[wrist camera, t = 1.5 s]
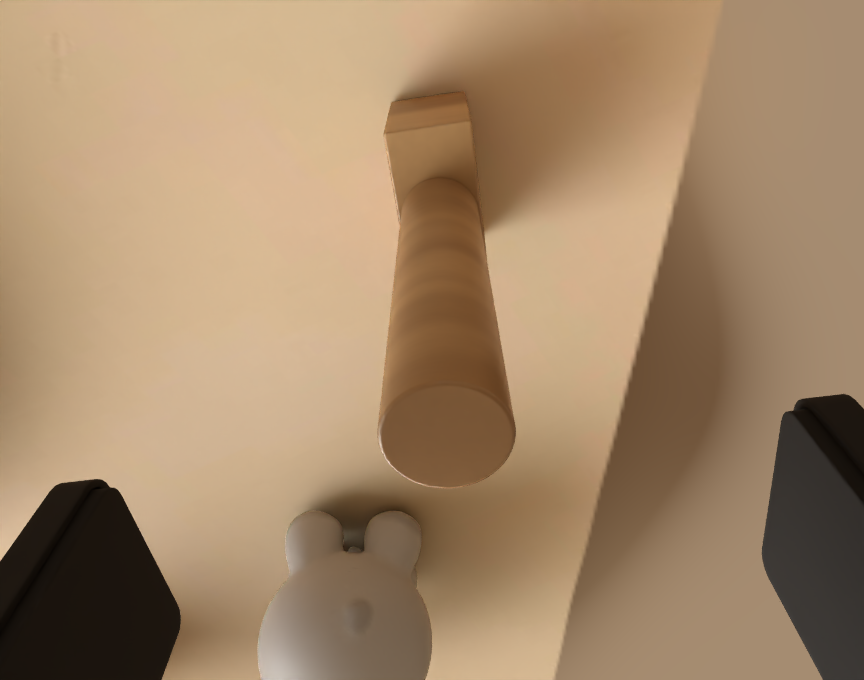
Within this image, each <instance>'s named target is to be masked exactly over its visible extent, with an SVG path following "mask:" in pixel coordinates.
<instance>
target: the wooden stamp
mask: <svg viewBox="0 0 864 680" xmlns="http://www.w3.org/2000/svg"><path fill="white" fill-rule="evenodd" d="M384 140H385V146H386V151H387V157H388V162H389V168H390V174H391V179H392V185H393V190H394V196H395V201H396V207H397V212H398V218H399V223H400V230H399V239H398V248H397V257H396V266H395V276H394V285H393V294H392V303H391V312H390V321H389V331H388V340H387V349H386V358H385V367H384V376H383V386H382V395H381V404H380V413H379V422H378V442H379V446H380V449H381V451H382V453H383V455H384V457H385V459H386V460H387V462H388V463H389V464H390V466H391V467H392V468H393V469H394V470H395V471H397V472H398V473H399V474H400V475H402V476H403V477H405V478H407V479H409V480H411V481H413V482H415V483H418V484H421V485H424V486H428V487H435V488H457V487H464V486H467V485H471V484H474V483H477V482H479V481H481V480H483V479H485V478H487V477H489V476H490V475H492V474H493V473H494V472H496V471H497V470H498V469H499V468H500V467H501V466H502V465H503V464H504V463H505V461H506V460H507V458H508V457H509V455H510V453H511V451H512V449H513V445H514V442H515V436H516V428H515V422H514V416H513V411H512V405H511V399H510V393H509V387H508V381H507V376H506V370H505V364H504V358H503V352H502V347H501V341H500V335H499V329H498V323H497V317H496V312H495V306H494V300H493V294H492V288H491V283H490V277H489V271H488V264H487V255H486V246H485V237H484V228H483V219H482V211H481V202H480V193H479V184H478V175H477V166H476V157H475V148H474V139H473V130H472V121H471V117H470V112H469V108H468V103H467V99H466V94H465V92H464V91H460V92H453V93H447V94H440V95H434V96H427V97H421V98H414V99H407V100H401V101H394V102H392V103H391V106H390V110H389V114H388V118H387V122H386V127H385V131H384Z"/></svg>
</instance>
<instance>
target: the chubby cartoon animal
mask: <svg viewBox="0 0 864 680" xmlns="http://www.w3.org/2000/svg"><path fill="white" fill-rule="evenodd" d="M343 540H344V535H343V529H342V526H341V524H340V522H339V521H338V520H337V519H336V518H335V517H333V516H332V515H329V514H327V513H324V512H322V511H307V512H304V513H302V514H300V515H299V516H297V517H296V518H295V519H294V520H293V521H292V522H291V524H290V526H289V527H288V530H287V533H286V538H285V553H286V558H287V563H288V566H289V577H288V578H287V580H286V581H285V582H284V583H283V585H282V586H281V587H280V588H279V590H278V591H277V592H276V594H275V595H274V597H273V598H272V600H271V602H270V604H269V606H268V608H267V610H266V612H265V615H264V618H263V621H262V624H261V628H260V632H259V638H258V666H259V672H260V676H261V680H425V679H426V676H427V673H428V669H429V665H430V660H431V652H432V631H431V624H430V619H429V615H428V612H427V609H426V606H425V604H424V601H423V599H422V597H421V595H420V594H419V592H418V590H417V589H416V587H417V573H416V570H415V568H414V566H415V564H416V561H417V559H418V556H419V553H420V549H421V543H422V532H421V528H420V526H419V524H418V523H417V521H416V520H415V519H414V518H412V517H411V516H409V515H408V514H406V513H404V512H400V511H386V512H382V513H379V514H377V515H376V516H374V517H373V518H372V519H371V520H370V521H369V523H368V525H367V528H366V531H365V537H364V551H362V550H361V549H360V548H358V547H351V548H349V550H348V552H345V551H344V550H343Z"/></svg>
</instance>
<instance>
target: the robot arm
mask: <svg viewBox="0 0 864 680" xmlns="http://www.w3.org/2000/svg"><path fill="white" fill-rule="evenodd" d="M762 559H763V563H764V567H765V570H766V573H767V576H768V578H769V580H770V582H771V583H772V585H773V587H774V589H775V591H776V593H777V595H778V596H779V598H780V600H781V602H782V604H783V606H784V608H785V610H786V611H787V613H788V615H789V617H790V619H791V621H792V623H793V624H794V626H795V628H796V630H797V632H798V634H799V636H800V637H801V639H802V641H803V643H804V645H805V647H806V649H807V651H808V652H809V654H810V656H811V658H812V660H813V662H814V664H815V665H816V667H817V669H818V671H819V673H820V675H821V677H822V678H823V680H864V409H863V408H862V407H861V406H860V405H859V404H858V402H857V401H856V400H855V399H853V398H852V397H851V396H849V395H845V394H841V395H832V396H823V397H814V398H806V399H801V400H798V401H797V403H796V405H795V407H794V410H793V411H788V412H785V413H784V415H783V417H782V421H781V427H780V433H779V440H778V447H777V453H776V460H775V466H774V473H773V480H772V487H771V493H770V500H769V506H768V513H767V519H766V526H765V533H764V539H763V546H762ZM180 624H181V615H180V609H179V607H178V604H177V602H176V600H175V598H174V596H173V595H172V593H171V591H170V589H169V587H168V585H167V583H166V581H165V579H164V577H163V575H162V573H161V571H160V569H159V567H158V565H157V563H156V561H155V559H154V558H153V556H152V554H151V552H150V550H149V548H148V546H147V544H146V542H145V540H144V538H143V536H142V534H141V532H140V530H139V528H138V526H137V524H136V522H135V521H134V519H133V517H132V515H131V513H130V511H129V509H128V507H127V505H126V503H125V501H124V499H123V497H122V495H121V494H120V492H119V491H118V490H117V489H115V488H110V487H109V486H108V484H107V483H106V482H104V481H103V480H100V479H94V480H85V481H76V482H67V483H60V484H58V485H56V486H55V487H54V488H53V489H52V490H51V491H50V492H49V493H48V495H47V496H46V498H45V499H44V501H43V502H42V503H41V505H40V506H39V508H38V509H37V510H36V512H35V513H34V515H33V516H32V518H31V519H30V520H29V522H28V523H27V525H26V526H25V527H24V529H23V530H22V532H21V533H20V534H19V536H18V537H17V539H16V540H15V542H14V543H13V544H12V546H11V547H10V549H9V550H8V551H7V553H6V554H5V556H4V557H3V558H2V560H1V561H0V680H161V679H162V677H163V674H164V671H165V669H166V666H167V663H168V661H169V658H170V655H171V653H172V650H173V647H174V644H175V642H176V639H177V636H178V633H179V630H180Z"/></svg>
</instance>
